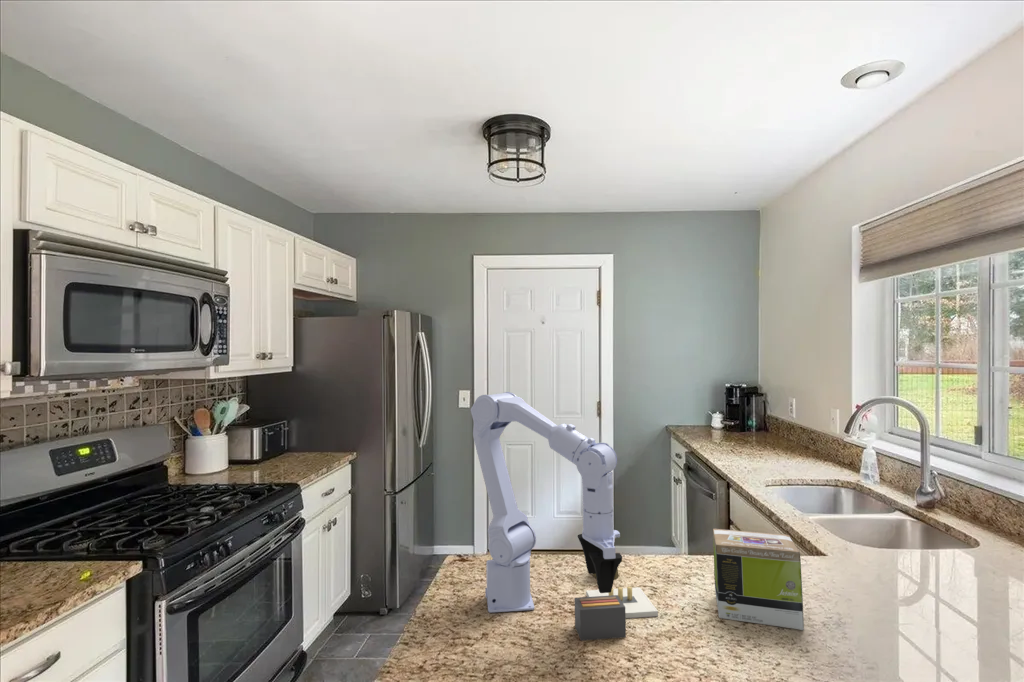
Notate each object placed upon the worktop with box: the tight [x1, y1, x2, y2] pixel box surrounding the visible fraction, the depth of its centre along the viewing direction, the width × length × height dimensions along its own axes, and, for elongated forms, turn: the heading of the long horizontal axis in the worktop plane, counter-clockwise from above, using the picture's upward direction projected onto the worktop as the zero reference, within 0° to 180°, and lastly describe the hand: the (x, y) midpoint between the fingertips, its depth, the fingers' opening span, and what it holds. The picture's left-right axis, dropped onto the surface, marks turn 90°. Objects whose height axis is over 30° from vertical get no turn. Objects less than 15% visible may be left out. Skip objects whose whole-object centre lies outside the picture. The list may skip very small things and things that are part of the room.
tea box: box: [712, 528, 805, 631], centre depth 98 cm, size 15×10×15 cm, turn 71°
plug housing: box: [574, 595, 627, 641], centre depth 92 cm, size 8×4×6 cm, turn 96°
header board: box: [585, 586, 659, 619], centre depth 101 cm, size 12×10×4 cm
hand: (599, 582), depth 92 cm, fingers open, 7 cm apart
